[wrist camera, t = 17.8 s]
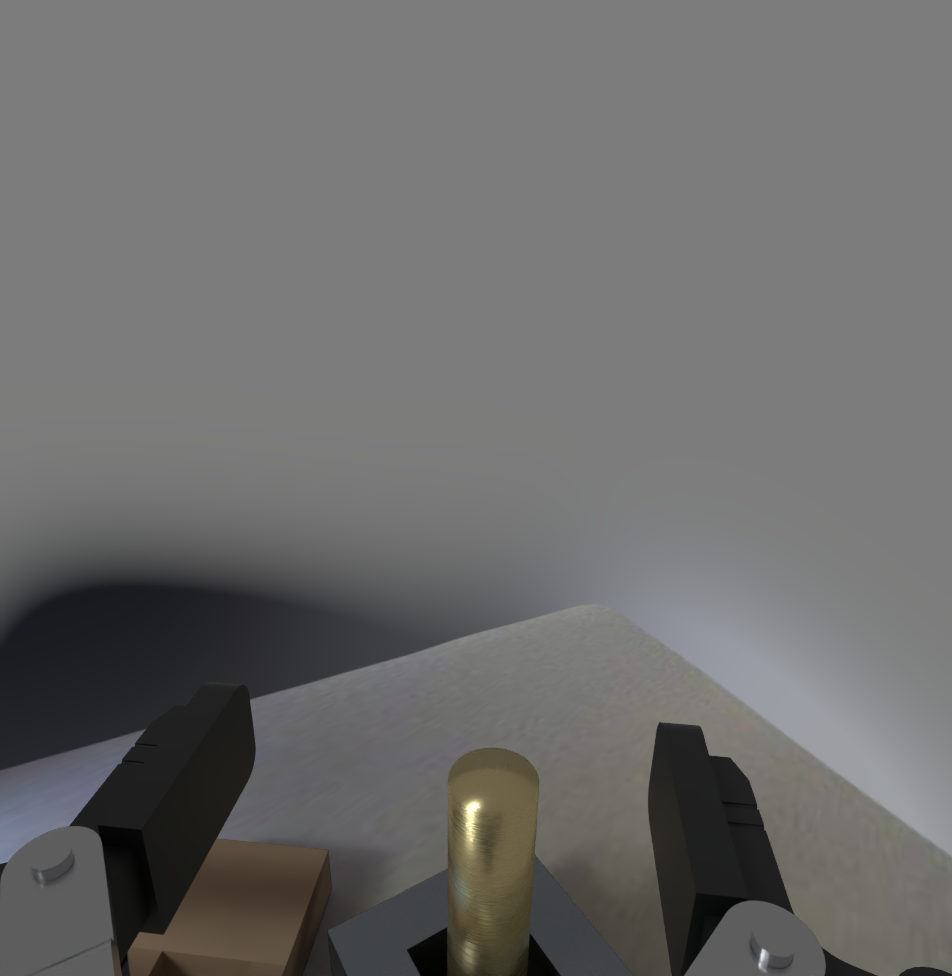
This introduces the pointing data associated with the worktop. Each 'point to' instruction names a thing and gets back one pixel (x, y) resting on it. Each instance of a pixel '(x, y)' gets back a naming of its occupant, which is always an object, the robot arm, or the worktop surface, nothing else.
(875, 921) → the worktop surface
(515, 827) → the axle
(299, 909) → the beam
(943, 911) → the worktop surface
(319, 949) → the worktop surface
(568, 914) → the seat block
